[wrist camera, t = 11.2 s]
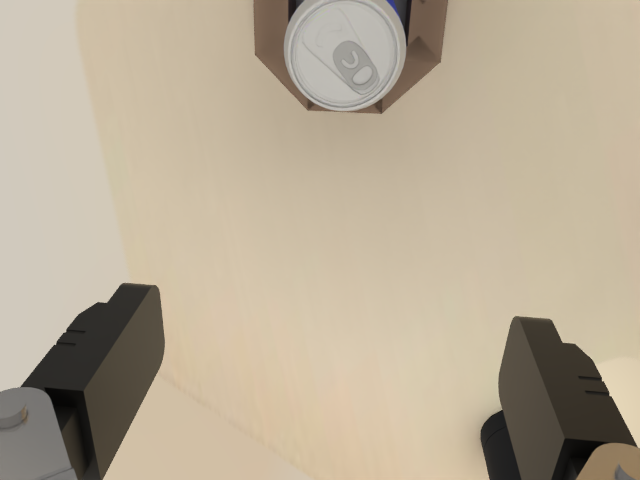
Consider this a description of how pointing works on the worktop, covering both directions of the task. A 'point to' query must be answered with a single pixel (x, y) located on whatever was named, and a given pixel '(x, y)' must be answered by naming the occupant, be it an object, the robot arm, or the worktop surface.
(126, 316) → the robot arm
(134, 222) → the worktop surface
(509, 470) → the wine bottle
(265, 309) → the worktop surface
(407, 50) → the collar
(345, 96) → the beverage can
